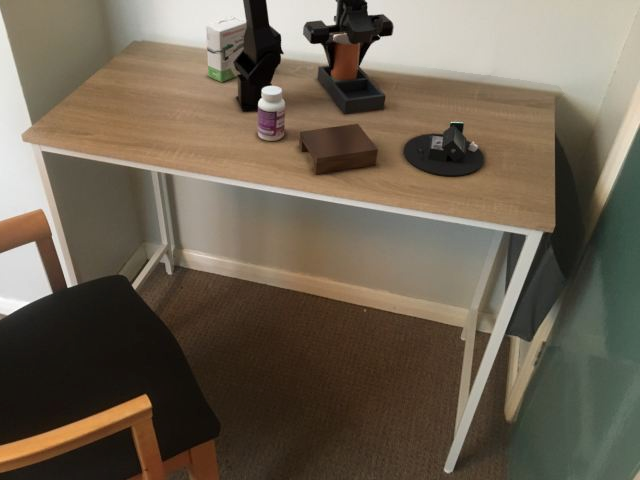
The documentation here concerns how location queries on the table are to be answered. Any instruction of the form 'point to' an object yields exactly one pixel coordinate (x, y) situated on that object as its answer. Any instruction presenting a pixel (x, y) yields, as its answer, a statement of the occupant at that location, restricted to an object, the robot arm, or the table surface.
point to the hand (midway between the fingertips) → (344, 67)
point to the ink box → (224, 47)
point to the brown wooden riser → (338, 148)
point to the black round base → (444, 153)
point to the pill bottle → (271, 114)
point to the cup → (345, 58)
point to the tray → (352, 91)
